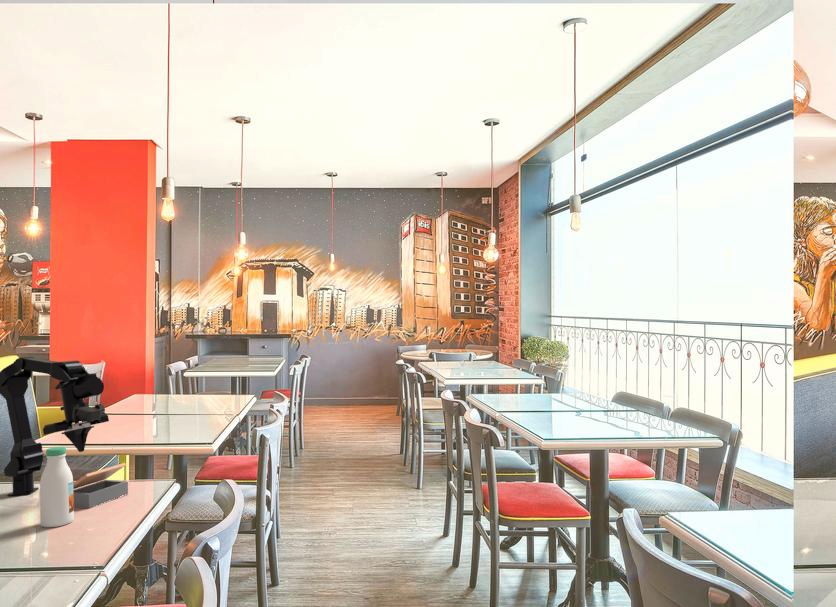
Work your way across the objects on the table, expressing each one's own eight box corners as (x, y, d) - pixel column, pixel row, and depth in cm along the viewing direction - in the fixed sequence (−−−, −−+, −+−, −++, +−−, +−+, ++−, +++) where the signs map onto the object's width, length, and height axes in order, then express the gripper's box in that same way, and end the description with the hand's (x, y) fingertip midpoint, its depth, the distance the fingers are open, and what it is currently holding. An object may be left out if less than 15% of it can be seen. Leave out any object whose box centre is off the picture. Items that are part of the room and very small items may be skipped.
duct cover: (66, 491, 177) (65, 488, 177) (106, 478, 190) (105, 476, 191) (87, 476, 174) (86, 474, 175) (126, 465, 188) (125, 462, 188)
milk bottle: (63, 527, 158) (61, 450, 158) (33, 528, 158) (32, 451, 158) (80, 518, 166) (78, 444, 166) (52, 518, 166) (50, 445, 166)
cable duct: (66, 506, 177) (66, 492, 177) (106, 492, 190) (105, 479, 190) (89, 508, 174) (89, 494, 174) (128, 494, 187) (127, 481, 187)
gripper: (65, 400, 175) (73, 454, 173) (117, 392, 192) (125, 441, 191) (37, 407, 178) (46, 460, 177) (91, 398, 196) (99, 446, 195)
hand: (81, 451), depth 185 cm, fingers closed
